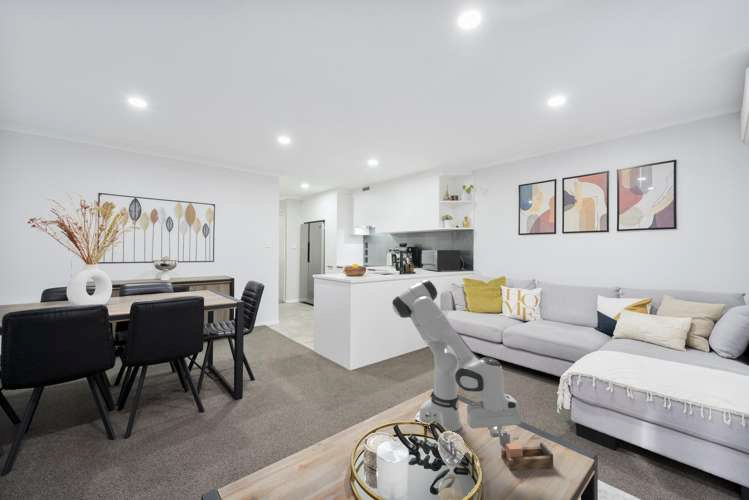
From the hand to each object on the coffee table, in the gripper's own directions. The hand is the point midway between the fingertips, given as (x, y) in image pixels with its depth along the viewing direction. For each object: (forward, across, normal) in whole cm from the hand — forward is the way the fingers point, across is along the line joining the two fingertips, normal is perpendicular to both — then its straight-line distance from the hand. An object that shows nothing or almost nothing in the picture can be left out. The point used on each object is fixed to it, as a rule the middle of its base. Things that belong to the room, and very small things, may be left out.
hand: (494, 436), depth 120 cm
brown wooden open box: (+12, +12, +1) cm, 17 cm away
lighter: (+12, +8, +13) cm, 19 cm away
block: (+11, +7, +1) cm, 13 cm away
